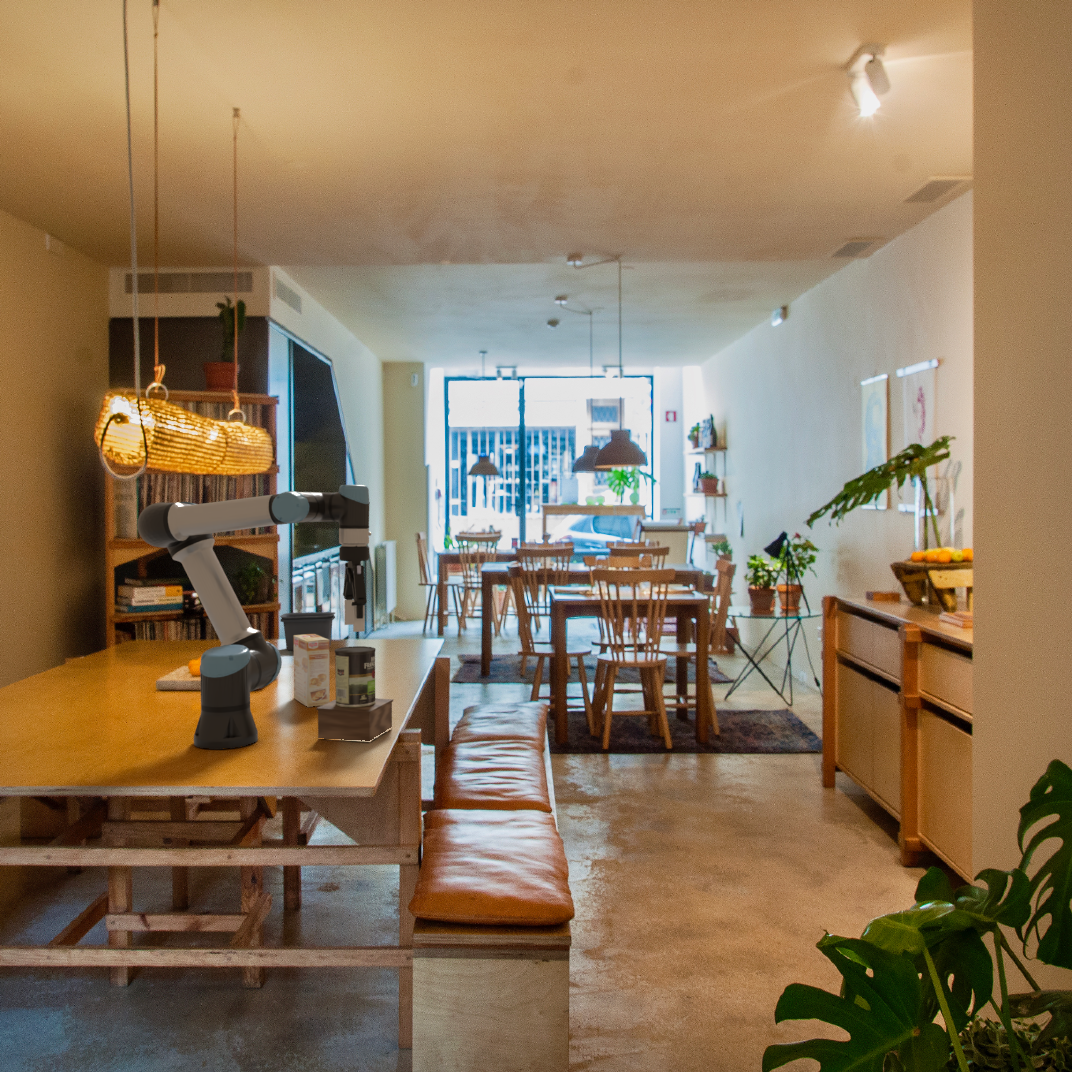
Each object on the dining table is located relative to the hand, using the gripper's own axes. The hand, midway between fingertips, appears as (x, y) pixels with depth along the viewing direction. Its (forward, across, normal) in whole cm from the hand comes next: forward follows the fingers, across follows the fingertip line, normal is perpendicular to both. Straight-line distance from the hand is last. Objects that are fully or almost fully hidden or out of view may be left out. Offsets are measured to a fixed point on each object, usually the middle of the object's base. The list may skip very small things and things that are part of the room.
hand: (354, 628), depth 237 cm
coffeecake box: (+28, +44, +5) cm, 52 cm away
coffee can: (+20, 0, 0) cm, 20 cm away
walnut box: (+28, 0, 0) cm, 28 cm away
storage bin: (+28, +148, -6) cm, 151 cm away
